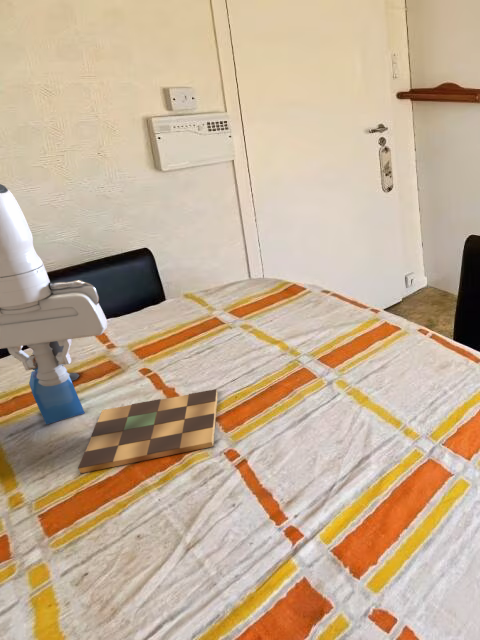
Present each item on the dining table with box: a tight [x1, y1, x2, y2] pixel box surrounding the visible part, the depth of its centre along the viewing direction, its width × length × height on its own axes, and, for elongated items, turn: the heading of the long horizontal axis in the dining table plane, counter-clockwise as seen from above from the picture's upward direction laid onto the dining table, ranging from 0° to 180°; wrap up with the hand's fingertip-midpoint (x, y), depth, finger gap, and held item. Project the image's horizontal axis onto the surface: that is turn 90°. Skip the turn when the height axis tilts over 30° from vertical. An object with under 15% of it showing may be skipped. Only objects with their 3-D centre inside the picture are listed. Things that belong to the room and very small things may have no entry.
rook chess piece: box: [26, 342, 70, 386], centre depth 103 cm, size 4×4×8 cm
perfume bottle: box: [28, 354, 85, 426], centre depth 116 cm, size 6×6×12 cm
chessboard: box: [77, 388, 219, 474], centre depth 112 cm, size 20×20×1 cm
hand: (49, 365), depth 104 cm, fingers closed on rook chess piece, 3 cm apart
